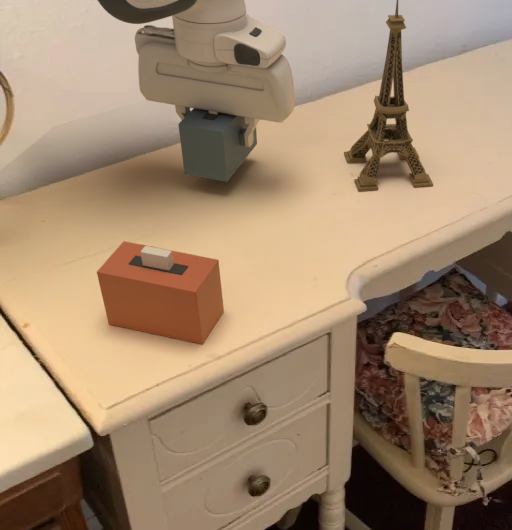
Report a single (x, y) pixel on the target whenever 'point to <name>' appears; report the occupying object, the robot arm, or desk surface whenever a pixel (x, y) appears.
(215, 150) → the slate tissue box
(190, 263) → the terracotta tissue box
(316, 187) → the desk surface
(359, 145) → the eiffel tower
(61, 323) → the desk surface
